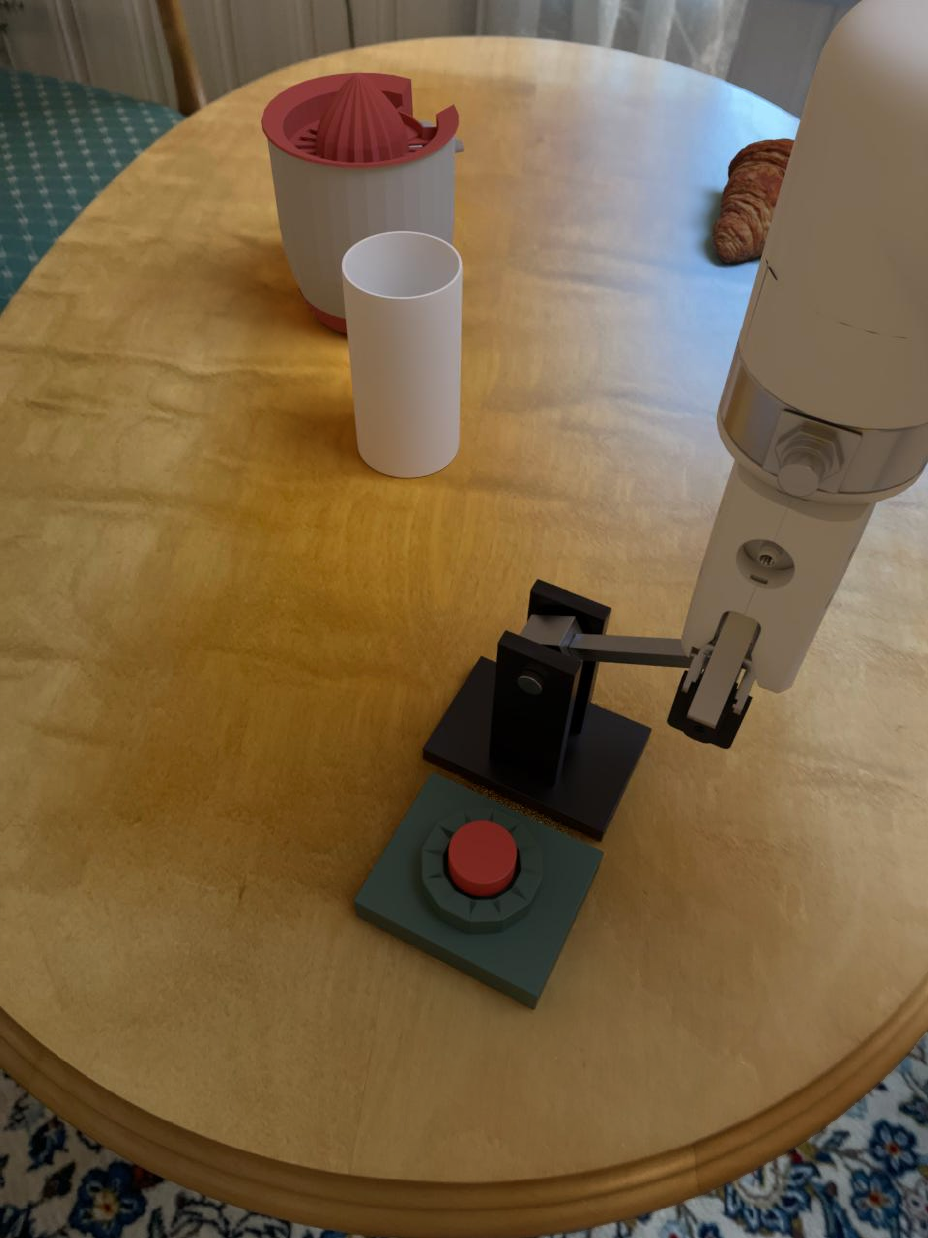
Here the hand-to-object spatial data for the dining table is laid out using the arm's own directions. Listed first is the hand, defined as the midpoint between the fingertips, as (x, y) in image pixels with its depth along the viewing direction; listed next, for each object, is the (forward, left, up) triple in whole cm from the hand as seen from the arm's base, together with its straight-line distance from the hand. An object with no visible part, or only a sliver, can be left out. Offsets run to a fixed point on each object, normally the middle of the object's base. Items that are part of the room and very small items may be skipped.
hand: (718, 686), depth 48 cm
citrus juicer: (+42, -37, -13) cm, 57 cm away
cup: (+30, -21, -13) cm, 39 cm away
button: (+8, +10, -10) cm, 16 cm away
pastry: (+13, -68, -13) cm, 70 cm away
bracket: (+9, 0, -13) cm, 16 cm away
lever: (+4, 0, -1) cm, 4 cm away
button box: (+8, +10, -13) cm, 18 cm away
